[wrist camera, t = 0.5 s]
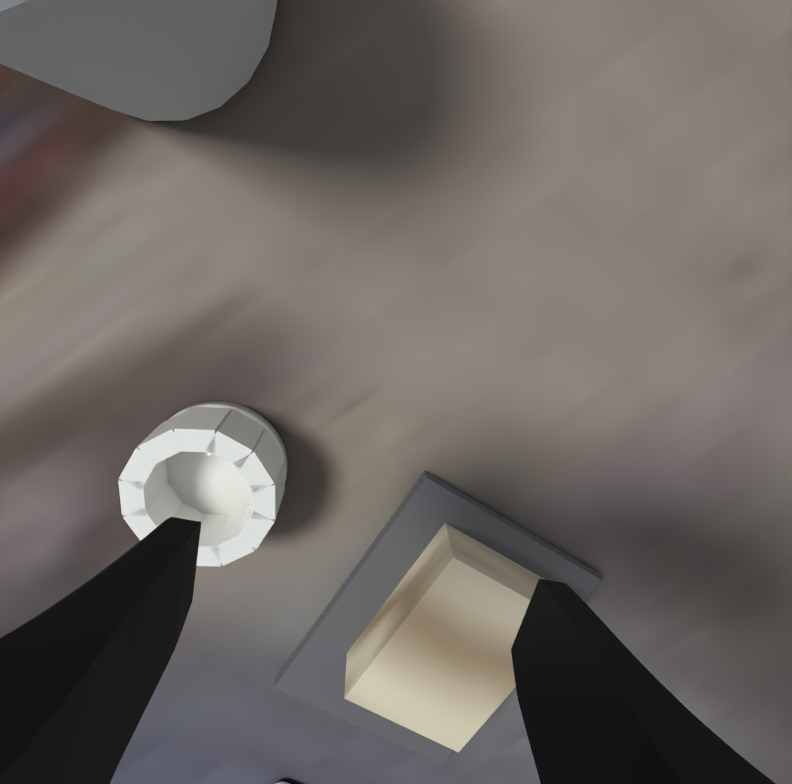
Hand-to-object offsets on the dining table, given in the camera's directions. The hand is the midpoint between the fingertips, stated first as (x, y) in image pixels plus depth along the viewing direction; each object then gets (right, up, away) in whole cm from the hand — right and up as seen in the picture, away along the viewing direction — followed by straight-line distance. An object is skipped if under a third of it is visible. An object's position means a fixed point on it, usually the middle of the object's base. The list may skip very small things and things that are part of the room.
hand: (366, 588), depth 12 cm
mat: (+2, -6, +13) cm, 14 cm away
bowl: (-6, +1, +10) cm, 12 cm away
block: (+3, -6, +12) cm, 14 cm away
